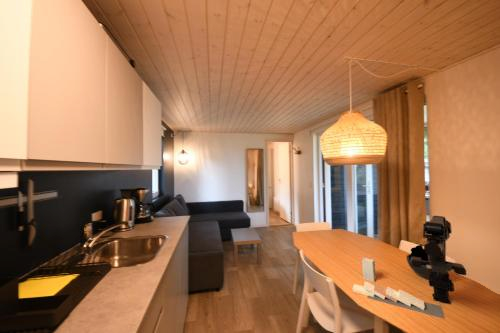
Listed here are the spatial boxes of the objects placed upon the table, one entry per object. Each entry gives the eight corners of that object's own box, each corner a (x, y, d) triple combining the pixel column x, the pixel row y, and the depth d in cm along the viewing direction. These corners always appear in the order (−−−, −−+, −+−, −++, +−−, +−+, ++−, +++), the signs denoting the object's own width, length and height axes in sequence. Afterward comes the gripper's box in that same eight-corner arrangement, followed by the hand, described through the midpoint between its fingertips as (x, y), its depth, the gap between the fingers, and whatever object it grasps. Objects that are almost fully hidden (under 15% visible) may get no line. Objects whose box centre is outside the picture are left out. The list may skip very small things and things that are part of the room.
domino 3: (396, 297, 110) (374, 285, 115) (397, 294, 109) (375, 283, 115) (396, 302, 106) (373, 290, 111) (397, 299, 105) (374, 287, 111)
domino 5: (422, 304, 104) (398, 291, 109) (423, 301, 104) (399, 289, 109) (423, 309, 100) (398, 296, 105) (424, 307, 99) (399, 294, 105)
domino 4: (409, 300, 107) (386, 289, 112) (410, 298, 106) (387, 286, 112) (410, 306, 102) (386, 294, 108) (411, 303, 102) (387, 291, 108)
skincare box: (376, 279, 128) (375, 259, 128) (374, 283, 125) (373, 262, 125) (364, 276, 132) (363, 256, 132) (362, 279, 129) (361, 259, 129)
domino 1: (375, 292, 115) (354, 286, 121) (374, 289, 115) (354, 284, 121) (374, 296, 111) (352, 291, 117) (373, 293, 111) (352, 288, 117)
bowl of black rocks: (399, 273, 134) (398, 243, 134) (420, 266, 141) (419, 238, 142) (436, 289, 116) (435, 254, 116) (458, 281, 123) (457, 248, 123)
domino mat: (369, 289, 119) (369, 288, 119) (441, 307, 102) (441, 306, 102) (367, 298, 110) (367, 297, 110) (445, 319, 94) (445, 318, 94)
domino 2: (384, 294, 113) (364, 283, 118) (385, 291, 112) (365, 280, 118) (384, 299, 108) (362, 287, 114) (385, 296, 108) (363, 285, 114)
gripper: (411, 252, 97) (413, 286, 97) (468, 260, 87) (470, 299, 87) (410, 244, 107) (411, 275, 106) (462, 251, 96) (463, 286, 96)
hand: (437, 283), depth 99 cm, fingers closed
